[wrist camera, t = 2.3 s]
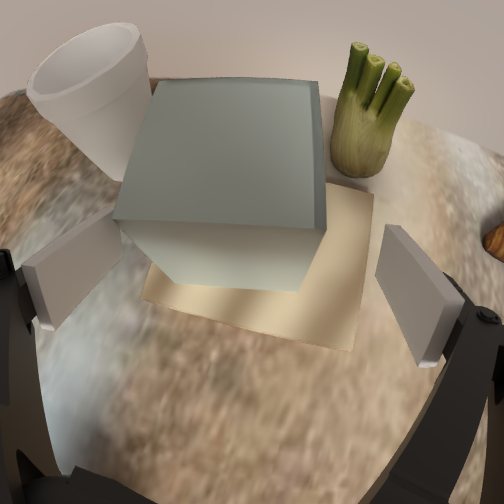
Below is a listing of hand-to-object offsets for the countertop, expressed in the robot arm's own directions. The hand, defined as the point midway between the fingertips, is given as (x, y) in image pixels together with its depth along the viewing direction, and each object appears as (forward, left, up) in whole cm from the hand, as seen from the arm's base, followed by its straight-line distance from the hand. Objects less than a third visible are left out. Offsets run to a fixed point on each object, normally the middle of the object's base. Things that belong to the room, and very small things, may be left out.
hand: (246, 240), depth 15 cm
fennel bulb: (+6, +14, -10) cm, 18 cm away
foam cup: (-15, +10, -10) cm, 21 cm away
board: (0, +3, -10) cm, 10 cm away
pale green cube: (-2, +4, -9) cm, 10 cm away
